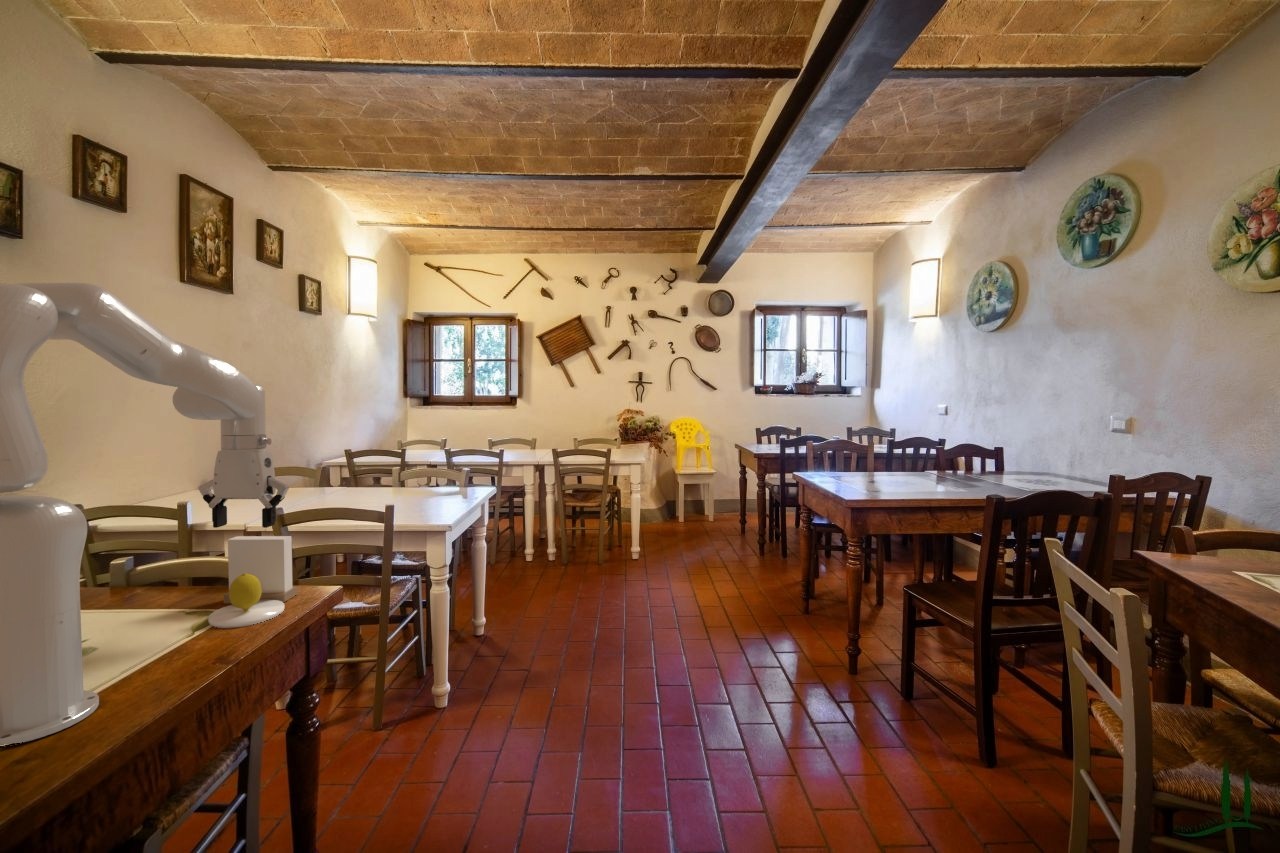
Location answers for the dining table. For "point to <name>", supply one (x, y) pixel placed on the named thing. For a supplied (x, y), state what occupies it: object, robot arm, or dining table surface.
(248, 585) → the lemon
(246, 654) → the dining table surface
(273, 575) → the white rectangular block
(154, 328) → the robot arm
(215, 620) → the white round disc
